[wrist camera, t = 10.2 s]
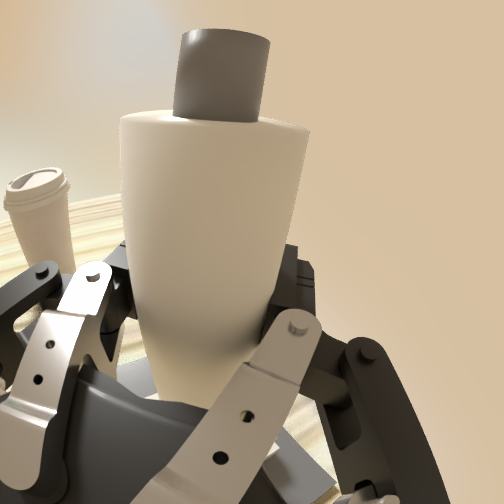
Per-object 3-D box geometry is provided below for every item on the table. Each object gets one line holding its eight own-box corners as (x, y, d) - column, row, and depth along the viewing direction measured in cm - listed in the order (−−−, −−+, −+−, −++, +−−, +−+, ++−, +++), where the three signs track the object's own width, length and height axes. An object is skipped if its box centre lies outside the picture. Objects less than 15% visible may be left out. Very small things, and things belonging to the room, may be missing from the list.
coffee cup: (50, 255, 35) (32, 166, 27) (96, 263, 36) (82, 164, 27) (19, 294, 27) (-13, 194, 19) (67, 307, 28) (35, 195, 19)
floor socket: (96, 379, 21) (83, 356, 19) (207, 339, 28) (208, 315, 26) (203, 562, 9) (202, 571, 6) (332, 484, 16) (352, 476, 14)
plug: (150, 389, 13) (115, 46, 5) (214, 363, 16) (248, 57, 7) (187, 452, 11) (167, -4, 2) (256, 417, 13) (363, 62, 4)
